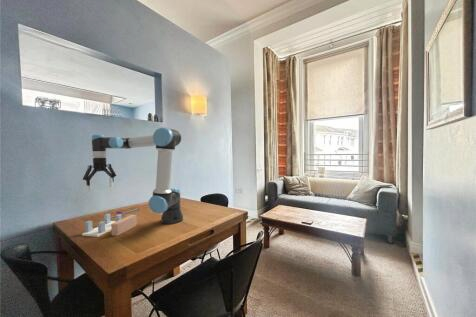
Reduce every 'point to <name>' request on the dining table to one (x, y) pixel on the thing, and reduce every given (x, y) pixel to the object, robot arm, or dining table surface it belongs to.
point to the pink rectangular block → (123, 225)
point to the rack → (100, 226)
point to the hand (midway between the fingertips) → (101, 188)
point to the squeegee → (125, 212)
